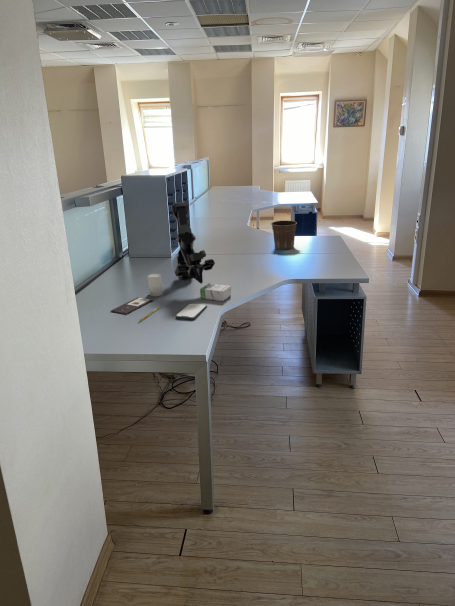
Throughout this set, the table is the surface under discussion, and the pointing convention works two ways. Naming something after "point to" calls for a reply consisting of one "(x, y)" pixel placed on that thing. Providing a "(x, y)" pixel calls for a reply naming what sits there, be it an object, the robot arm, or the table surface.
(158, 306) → the pencil
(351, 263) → the table surface
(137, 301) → the chocolate bar
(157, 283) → the white rounded cylinder
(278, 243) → the plant pot
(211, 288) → the ink box
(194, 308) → the smartphone
